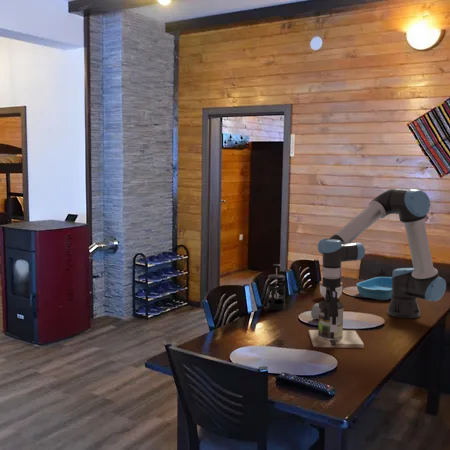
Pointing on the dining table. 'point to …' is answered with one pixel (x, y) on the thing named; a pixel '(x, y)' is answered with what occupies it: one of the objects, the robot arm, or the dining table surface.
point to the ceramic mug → (315, 311)
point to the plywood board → (347, 341)
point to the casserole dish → (376, 288)
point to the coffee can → (325, 321)
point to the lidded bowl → (323, 290)
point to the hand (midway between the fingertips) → (330, 326)
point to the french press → (280, 296)
